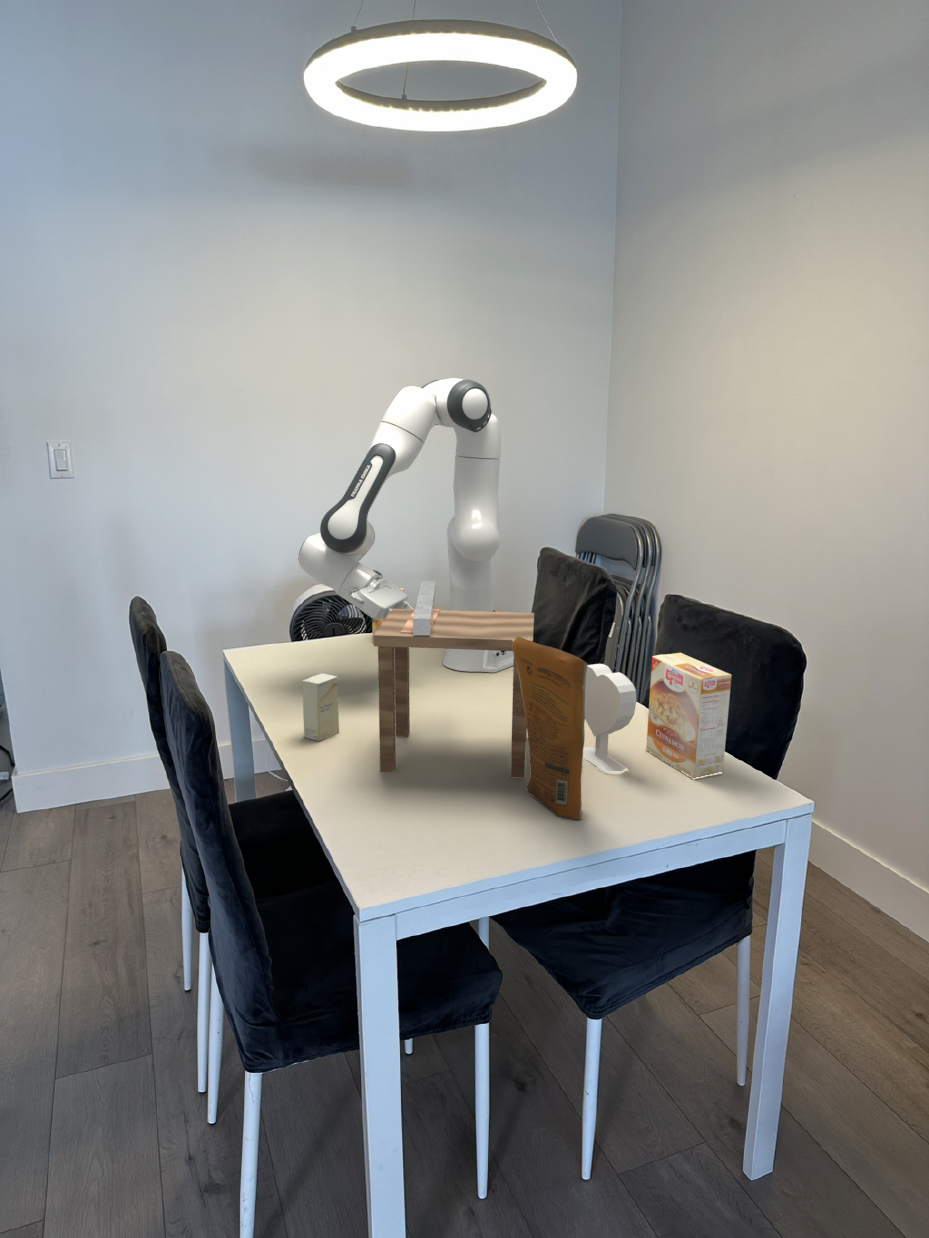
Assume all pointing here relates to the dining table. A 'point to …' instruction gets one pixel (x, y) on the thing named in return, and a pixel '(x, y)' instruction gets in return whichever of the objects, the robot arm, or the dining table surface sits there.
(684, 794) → the dining table surface
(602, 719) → the heart sculpture
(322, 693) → the skincare box
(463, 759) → the dining table surface
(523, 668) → the pancake mix bag
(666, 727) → the coffeecake box
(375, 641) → the wooden stool
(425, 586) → the brushed metal block
